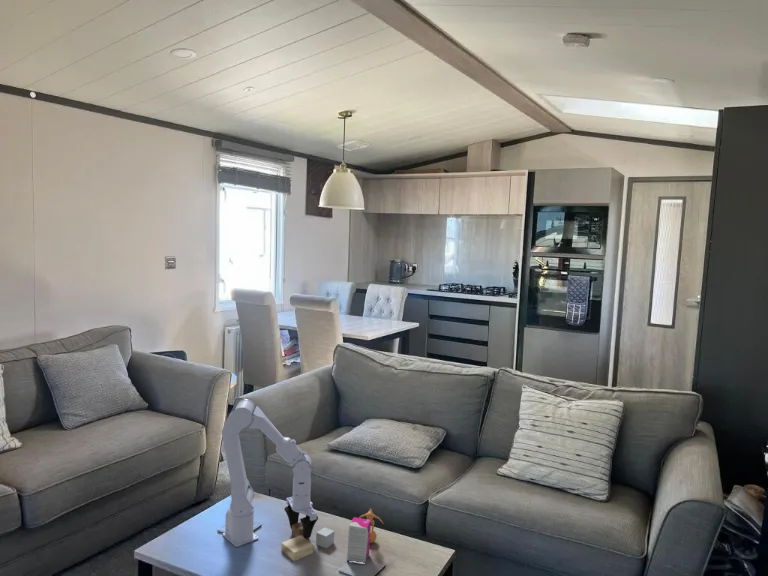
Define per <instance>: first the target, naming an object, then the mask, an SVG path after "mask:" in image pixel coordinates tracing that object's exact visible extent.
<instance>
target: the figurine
mask: <svg viewBox="0 0 768 576" xmlns="http://www.w3.org/2000/svg"><path fill="white" fill-rule="evenodd" d="M364 517H366V519H368V520H371V531H370V544H373V543H374V542H376V540H377V532H376V531H375V530H374V528H375V527H374V526H375V520H373V518H375V519H376V520H379V521H380V523H382V525H384V522H383V520H382V519H381V518H380V517H379V516H377V515H375V514H374V512H373V510H372V508H370V509H369V510H368V512H366V513H365V514H361V515H359V517H358V518H364Z"/></svg>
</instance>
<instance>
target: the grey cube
mask: <svg viewBox="0 0 768 576" xmlns="http://www.w3.org/2000/svg"><path fill="white" fill-rule="evenodd" d="M315 533H316V536H315V537H316V538H315V539H316V541H315V545H317V546H319V547H322V548H324V549H327V548H329V547H330V546H332V545H333V544H334V543H335V531H334V530H332V529H330V528H327V527H323V528H321V529H320V530H318V531H316V532H315Z"/></svg>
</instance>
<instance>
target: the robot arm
mask: <svg viewBox="0 0 768 576" xmlns="http://www.w3.org/2000/svg"><path fill="white" fill-rule="evenodd" d="M248 426H249V428H248V429H258V430H260V431H261V432H262V433H263V434H264V435H265V436H266V437H267V438H268V439H270V441H271V442H272V443H274V445H275V446H276V447H275V451H276V452H277V454H279V455H280V457H281V458H282V459H283V460H284V462H286V463H287V464H288V465H289V466H291V467H292V472H293V478H292V496H290V497H286V500H285V501H286V505H287V506H285V507H284V512H285V513H286V516H287V518H288V523H289V527H290V529H291V530H292V525H294V524H296V523H299V522H301V523H302V526H303V536H304V538H305V539H307V540H308V539H310V538H311V536H312V534H313V533H312V532H313V529H314V527H315V525H316V523H317V521H318V520H319V516H318V513H317V512H316V511H315V509H314V507H313V502H312V501H311V495H312V494H311V492H312V491H311V489H312V477H311V475H312V473H311V472H312V458H311V456H310V455H309V453H308V452H306V451H305V450H302V449H301V448H300V447H299V446H298V445H297V444H296V443H297V441H296V440H295V439H294V438H293V439H292V438H290V437H288V436H287V437H285V436H283V435H282V433H281V432H280V431H279V430H278V429H277V427H276V426H275V425H274V424H273V423H272V421H270V419H269V418H268V417H267V416H266V414H265V413H264V412H263V410H262V409H261V408H260V407H259V406H257V405H256V404H255V402H253V401H252V400H251V399H245V398H244V399H241V400H239V401H238V402H237V403H236V404H235V405H234V406H233V408H231V412H230V413H229V415H228V417H227V419H226V421H225V423H224V426H223V427H222V429H221V438H222V442H223V447H224V448H223V449H224V454H225V458H226V459H225V460H226V465H227V469H228V476H229V480H230V485H231V487H230V488H231V489H230V490H231V491H230V497H231V501H230V504H229V508H228V509H227V510H226V514H225V528H224V529H225V531H224V532H223V533H222V536H223V537H224V538H226V540H227V541H228V542H229V543H231V544H232V545H233V546H234V547H237V548H238V547H241V546H243V545H247V544H248V543H251V542H253V541H256V540H259V536H258V535H257V534H255V533H254V519H255V518H254V516H255V514H254V512H255V509H254V506H253V504H252V503H253V500H254V498H255V491H254V489H253V488H252V486H251V485H250V481H249V479H248V478H247V477H248V476H247V472H246V467H245V461H244V456H243V452H242V450H243V449H242V446H241V445H242V444H241V440H240V434H239V433H240V432H241V431H242V430H244V429H245V428H247V427H248ZM300 514H302V515H304V516H305V517H302V518H300V519H299V517H300Z"/></svg>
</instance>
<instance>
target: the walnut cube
mask: <svg viewBox="0 0 768 576" xmlns="http://www.w3.org/2000/svg"><path fill="white" fill-rule="evenodd" d="M300 535H301V536H302V537H304V536H303V526H302V523H301V521H298V523H296V524H294V525H292V529H291V538H295V537H297V536H300Z"/></svg>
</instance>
